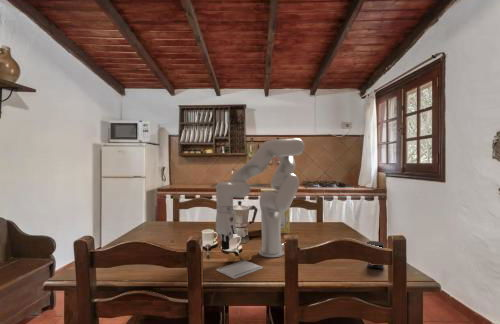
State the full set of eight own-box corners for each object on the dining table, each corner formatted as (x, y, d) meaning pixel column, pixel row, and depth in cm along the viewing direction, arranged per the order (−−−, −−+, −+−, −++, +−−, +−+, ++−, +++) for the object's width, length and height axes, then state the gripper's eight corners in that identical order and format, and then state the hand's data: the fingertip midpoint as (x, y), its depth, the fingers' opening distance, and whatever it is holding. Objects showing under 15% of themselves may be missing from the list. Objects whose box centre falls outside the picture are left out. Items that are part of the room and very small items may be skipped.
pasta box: (261, 233, 183) (260, 190, 183) (261, 229, 194) (260, 188, 194) (289, 233, 182) (289, 190, 183) (288, 229, 193) (287, 188, 193)
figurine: (224, 251, 135) (248, 244, 138) (227, 263, 135) (251, 256, 138) (227, 257, 127) (252, 249, 130) (230, 270, 127) (255, 261, 130)
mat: (244, 261, 132) (244, 260, 132) (262, 268, 123) (262, 266, 123) (216, 270, 121) (216, 269, 121) (234, 278, 112) (234, 277, 112)
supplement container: (365, 264, 126) (364, 240, 126) (380, 264, 125) (380, 241, 125) (369, 269, 119) (369, 245, 119) (386, 270, 119) (386, 245, 119)
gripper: (241, 210, 126) (242, 251, 126) (221, 206, 138) (222, 244, 138) (228, 212, 121) (228, 255, 121) (208, 208, 133) (209, 247, 133)
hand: (225, 249), depth 129 cm, fingers closed
